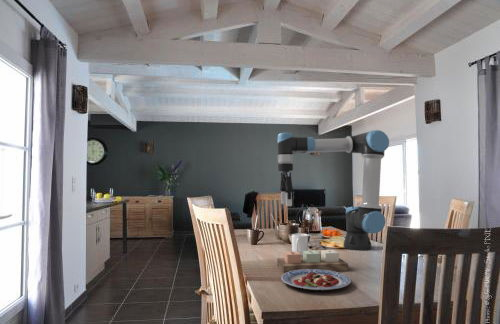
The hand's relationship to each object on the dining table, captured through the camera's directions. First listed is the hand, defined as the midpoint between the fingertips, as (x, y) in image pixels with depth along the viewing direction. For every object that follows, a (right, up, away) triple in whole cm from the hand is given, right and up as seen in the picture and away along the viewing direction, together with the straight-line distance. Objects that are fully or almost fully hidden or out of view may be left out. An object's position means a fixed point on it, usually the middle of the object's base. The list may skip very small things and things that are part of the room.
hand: (286, 205), depth 174 cm
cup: (+7, -27, +3) cm, 28 cm away
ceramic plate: (+6, -24, -44) cm, 51 cm away
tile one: (+17, -23, -21) cm, 35 cm away
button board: (+9, -25, -22) cm, 34 cm away
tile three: (0, -23, -23) cm, 32 cm away
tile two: (+9, -23, -22) cm, 33 cm away
